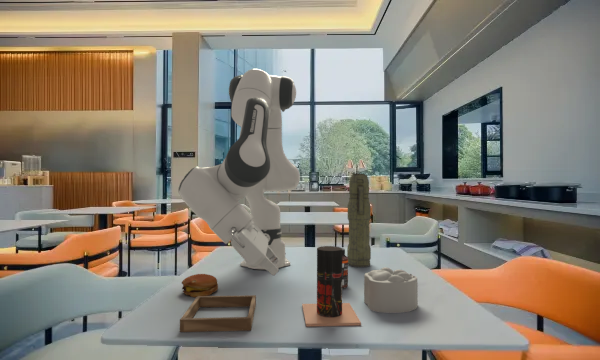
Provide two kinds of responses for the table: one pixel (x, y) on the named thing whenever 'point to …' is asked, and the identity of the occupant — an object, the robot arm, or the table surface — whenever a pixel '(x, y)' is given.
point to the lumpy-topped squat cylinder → (390, 291)
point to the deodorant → (329, 281)
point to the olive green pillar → (359, 221)
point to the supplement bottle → (344, 269)
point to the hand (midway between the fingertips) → (276, 267)
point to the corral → (218, 323)
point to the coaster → (343, 320)
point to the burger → (199, 285)
